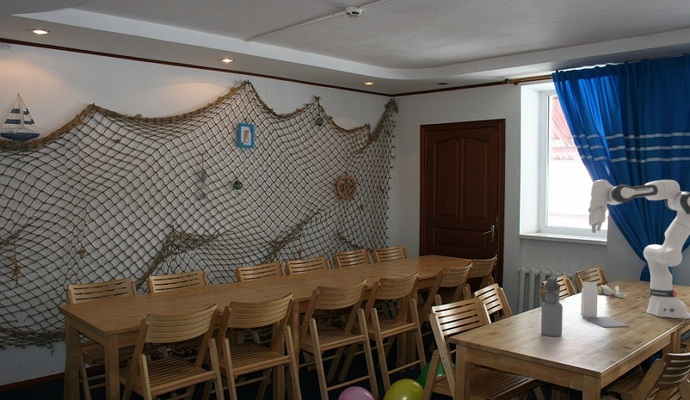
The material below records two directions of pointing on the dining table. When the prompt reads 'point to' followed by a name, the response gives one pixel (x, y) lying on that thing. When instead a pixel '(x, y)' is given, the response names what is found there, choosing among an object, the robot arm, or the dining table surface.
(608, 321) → the mat
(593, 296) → the milk carton
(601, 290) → the toy dog
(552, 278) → the water bottle
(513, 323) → the dining table surface
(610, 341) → the dining table surface
